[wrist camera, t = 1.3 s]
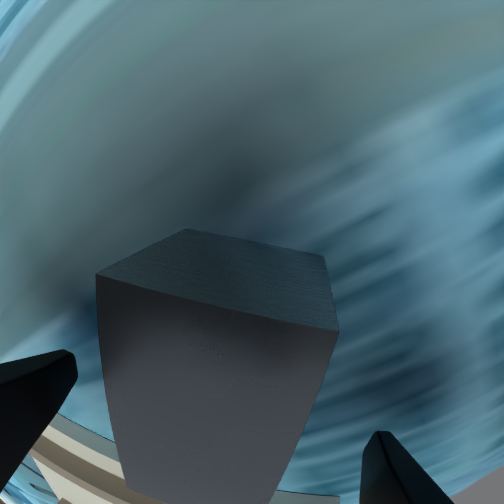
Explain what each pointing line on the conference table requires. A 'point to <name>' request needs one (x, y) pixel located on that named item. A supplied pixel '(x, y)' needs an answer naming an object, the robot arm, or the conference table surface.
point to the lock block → (212, 363)
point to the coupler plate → (104, 469)
